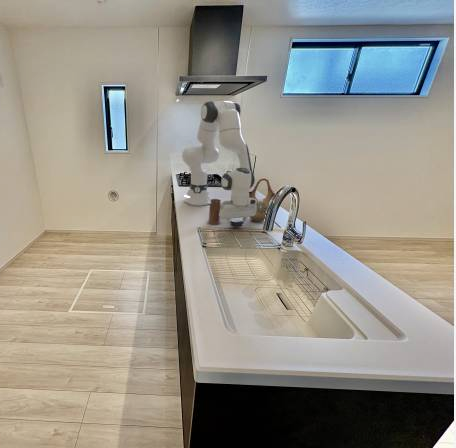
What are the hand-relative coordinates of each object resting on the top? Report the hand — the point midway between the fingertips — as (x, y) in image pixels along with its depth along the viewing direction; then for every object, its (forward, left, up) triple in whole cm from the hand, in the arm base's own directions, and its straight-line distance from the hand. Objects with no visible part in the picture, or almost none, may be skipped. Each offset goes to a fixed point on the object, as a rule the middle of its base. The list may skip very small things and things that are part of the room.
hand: (236, 224), depth 130 cm
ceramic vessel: (-14, +12, -2) cm, 19 cm away
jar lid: (0, 0, +2) cm, 2 cm away
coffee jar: (-4, -12, -2) cm, 13 cm away
